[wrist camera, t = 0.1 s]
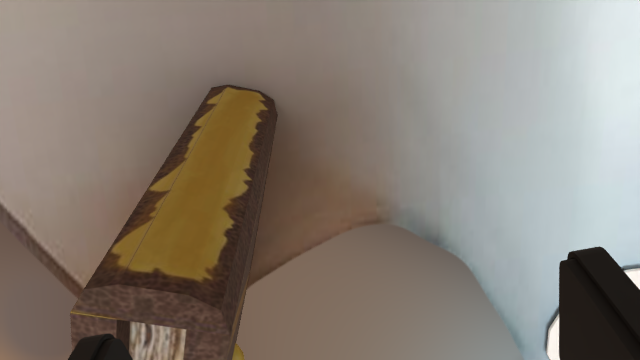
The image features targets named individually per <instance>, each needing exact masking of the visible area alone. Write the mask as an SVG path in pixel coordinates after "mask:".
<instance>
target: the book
mask: <svg viewBox="0 0 640 360" xmlns="http://www.w3.org/2000/svg"><path fill="white" fill-rule="evenodd" d="M276 121H277V112H276V108H275V103H274V100H273V99H271V98H270V97H268V96H266V95H265V94H263V93H262V92H260V91H257V90H252V89H247V88H242V87H237V86H232V85H224V86H219V87H214V88H211V90H210V91H209V93H208V94H207V96H206V98H205V99H204V101H203V102H202V104H201V105H200V107H199V109H198V110H197V112H196V113H195V115H194V117H193V118H192V120H191V121H190V123H189V124H188V126H187V128H186V129H185V131H184V132H183V134H182V135H181V137H180V139H179V140H178V142H177V143H176V145H175V146H174V148H173V150H172V151H171V153H170V154H169V156H168V157H167V159H166V161H165V162H164V164H163V165H162V167H161V169H160V170H159V172H158V173H157V175H156V176H155V178H154V180H153V181H152V183H151V184H150V186H149V187H148V189H147V191H146V192H145V194H144V195H143V197H142V198H141V200H140V202H139V203H138V205H137V206H136V208H135V209H134V211H133V213H132V214H131V216H130V217H129V219H128V221H127V222H126V224H125V225H124V227H123V228H122V230H121V232H120V233H119V235H118V236H117V238H116V239H115V241H114V243H113V244H112V246H111V247H110V249H109V250H108V252H107V254H106V255H105V257H104V258H103V260H102V261H101V263H100V265H99V266H98V268H97V269H96V271H95V273H94V274H93V276H92V277H91V279H90V280H89V282H88V284H87V285H86V287H85V288H84V290H83V292H82V293H81V295H80V297H79V298H78V300H77V302H76V304H75V305H74V307H73V309H72V311H71V312H70V316H71V337H72V352H73V350H74V348H75V346H76V345H77V343H78V342H79V340H80V339H82V338H84V337H89V336H95V335H101V334H107V333H110V334H112V335H113V336H114V337H115V338H116V339H120V340H121V341H122V342H123V343H124V345H125V347H126V349H127V350H128V352H129V354H130V355H131V357H132V359H133V360H244V355H243V352H242V350H241V349H240V347H239V346H238V345H237V344H236V340H237V334H238V329H239V325H240V320H241V314H242V309H243V304H244V299H245V294H246V289H247V284H248V279H249V274H250V268H251V263H252V257H253V251H254V246H255V240H256V234H257V229H258V223H259V217H260V212H261V206H262V200H263V195H264V189H265V183H266V178H267V172H268V166H269V161H270V155H271V149H272V144H273V138H274V132H275V127H276Z"/></svg>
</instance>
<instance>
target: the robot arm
mask: <svg viewBox="0 0 640 360" xmlns="http://www.w3.org/2000/svg"><path fill="white" fill-rule="evenodd" d="M559 358H560V360H640V289H639V288H638V287H637V286H636V285H635V284H634V283H633V281H632V280H631V279H630V278H629V277H628V276H627V274H626V273H625V272H624V271H623V270H622V269H621V267H620V266H619V265H618V264H617V263H616V262H615V260H614V259H613V258H612V257H611V256H610V255H609V253H608V252H607V251H606V250H605V249H604V248H602V247H594V248H589V249H583V250H577V251H572V252H569V254H568V259H567V260H564V261H561V262H560V267H559ZM68 360H133V359H132V357H131V355H130V354H129V352H128V350H127V349H126V347H125V345H124V343H123V342H122V341H121V340H120V339H116V338H115V337H114V336H113V335H112V334H110V333H107V334H101V335H95V336H89V337H84V338H82V339H80V340H79V342H78V343H77V345H76V346H75V348H74V350H73V352H72V354H71V355H70V357H69V359H68Z"/></svg>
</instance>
